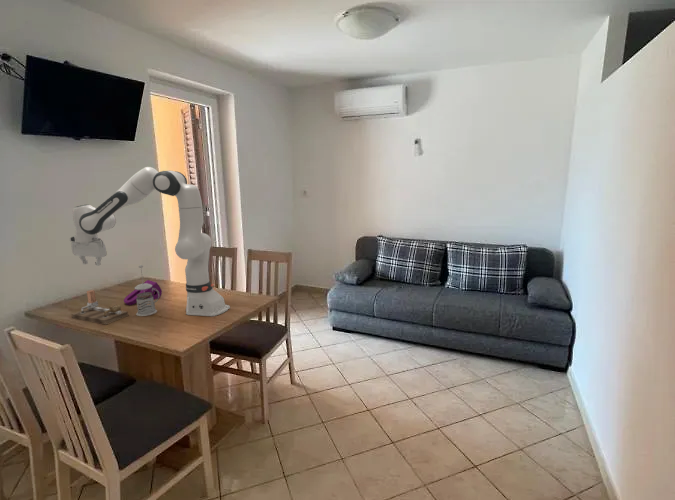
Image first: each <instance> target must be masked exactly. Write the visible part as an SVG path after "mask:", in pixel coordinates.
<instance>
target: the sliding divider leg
mask: <svg viewBox="0 0 675 500" xmlns="http://www.w3.org/2000/svg"><path fill="white" fill-rule="evenodd" d="M86 295H87V303H86V305H85V306H83V307H81V309H80V311H82V312H84V311H83V310H85V309H88V308H93V307H96V306H97V307H99V301H98V300H97V297H96V293H95V289H90V290H86Z"/></svg>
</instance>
